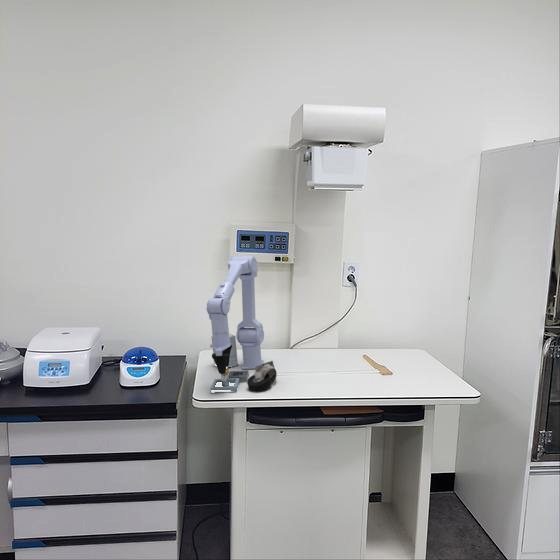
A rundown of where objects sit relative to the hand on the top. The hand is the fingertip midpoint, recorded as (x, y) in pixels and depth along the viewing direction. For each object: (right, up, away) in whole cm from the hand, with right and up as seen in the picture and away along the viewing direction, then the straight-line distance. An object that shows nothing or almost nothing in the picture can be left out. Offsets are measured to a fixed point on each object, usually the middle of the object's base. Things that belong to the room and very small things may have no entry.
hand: (224, 369), depth 175 cm
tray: (0, -7, +1) cm, 7 cm away
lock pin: (0, -6, +1) cm, 6 cm away
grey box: (-2, -3, +26) cm, 26 cm away
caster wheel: (+14, -6, 0) cm, 15 cm away
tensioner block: (+4, -5, +9) cm, 11 cm away
